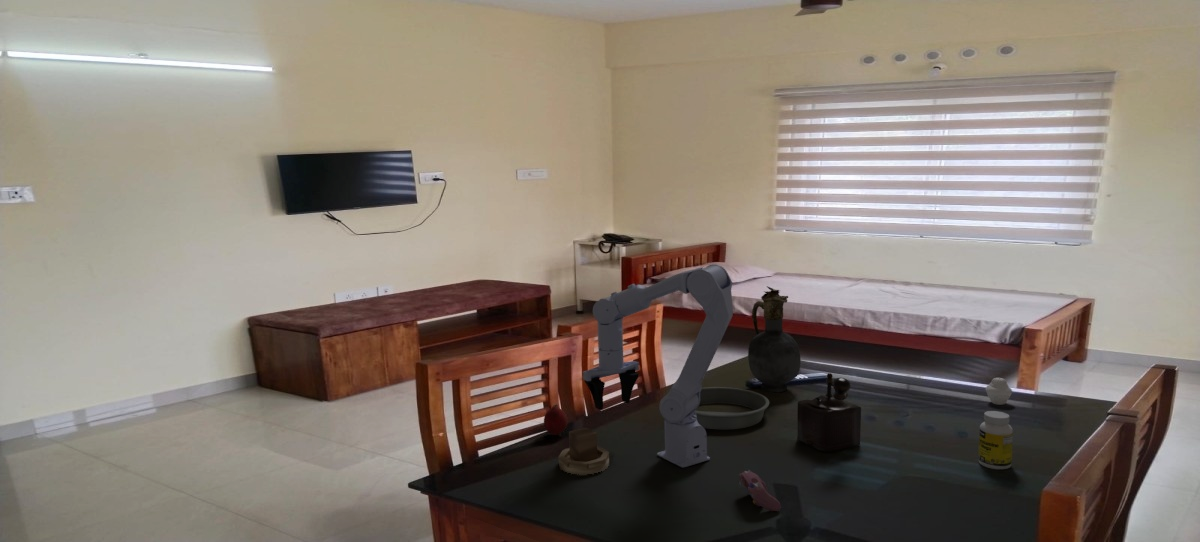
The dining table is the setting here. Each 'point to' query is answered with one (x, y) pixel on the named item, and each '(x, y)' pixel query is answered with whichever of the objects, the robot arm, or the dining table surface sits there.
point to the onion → (555, 420)
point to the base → (584, 463)
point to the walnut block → (583, 445)
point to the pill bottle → (995, 441)
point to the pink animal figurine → (758, 491)
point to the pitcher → (773, 346)
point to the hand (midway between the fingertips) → (612, 405)
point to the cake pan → (727, 418)
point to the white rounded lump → (998, 391)
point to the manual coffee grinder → (830, 419)
